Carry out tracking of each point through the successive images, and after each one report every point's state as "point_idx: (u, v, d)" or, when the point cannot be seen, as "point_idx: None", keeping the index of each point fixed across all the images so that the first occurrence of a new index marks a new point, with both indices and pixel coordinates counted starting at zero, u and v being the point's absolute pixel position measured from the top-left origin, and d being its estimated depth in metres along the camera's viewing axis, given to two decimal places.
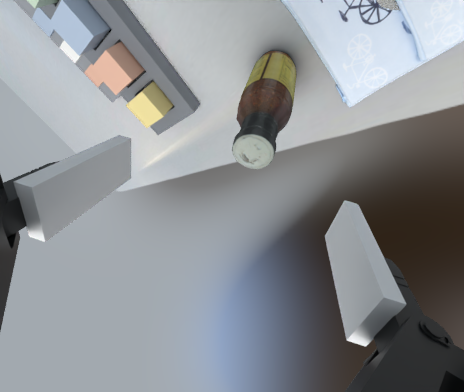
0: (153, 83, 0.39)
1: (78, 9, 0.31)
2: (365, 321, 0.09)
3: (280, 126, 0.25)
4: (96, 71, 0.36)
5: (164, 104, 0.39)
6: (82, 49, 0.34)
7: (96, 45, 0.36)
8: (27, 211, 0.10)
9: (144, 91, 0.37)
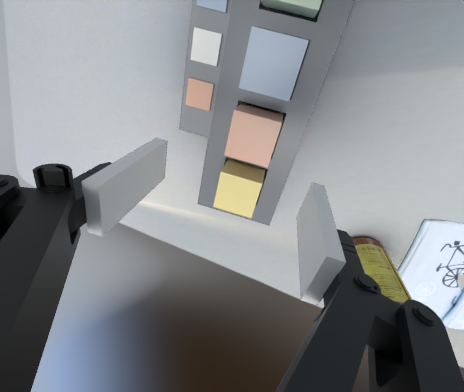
0: None
1: None
2: (314, 280, 0.10)
3: None
4: (236, 118, 0.23)
5: None
6: (254, 90, 0.21)
7: None
8: (90, 208, 0.10)
9: (262, 183, 0.26)
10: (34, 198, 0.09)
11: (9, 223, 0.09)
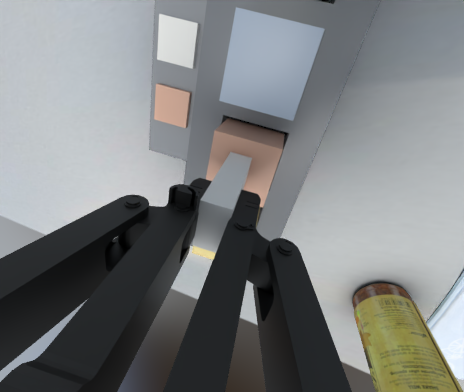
0: (259, 208, 0.22)
1: None
2: (212, 229, 0.11)
3: None
4: (219, 142, 0.16)
5: None
6: (241, 104, 0.15)
7: None
8: (201, 224, 0.11)
9: None
10: (163, 213, 0.09)
11: None
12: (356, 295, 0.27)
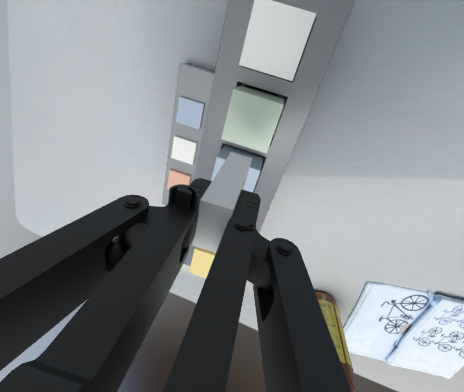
0: None
1: None
2: (212, 229, 0.11)
3: None
4: None
5: None
6: None
7: None
8: (201, 224, 0.11)
9: None
10: (163, 213, 0.09)
11: None
12: None
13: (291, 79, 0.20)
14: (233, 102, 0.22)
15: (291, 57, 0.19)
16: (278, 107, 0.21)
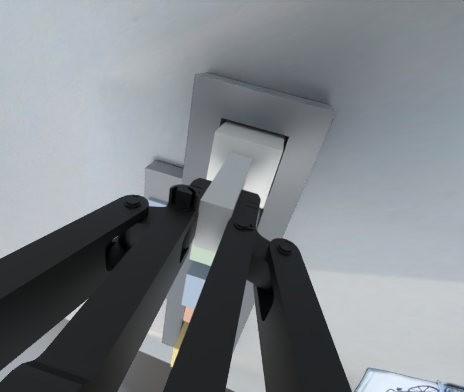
0: None
1: None
2: (212, 229, 0.11)
3: None
4: None
5: None
6: (194, 308, 0.24)
7: None
8: (201, 224, 0.11)
9: None
10: (164, 213, 0.09)
11: None
12: None
13: (262, 206, 0.18)
14: None
15: (260, 187, 0.17)
16: None
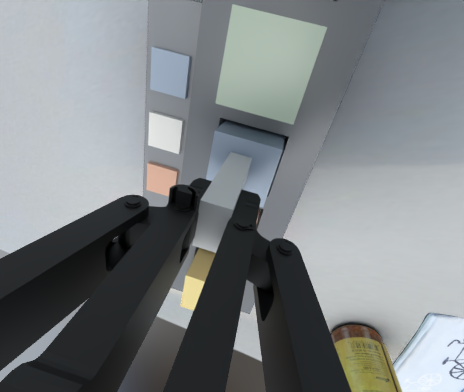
0: None
1: None
2: (212, 229, 0.11)
3: None
4: None
5: None
6: None
7: None
8: (201, 224, 0.11)
9: None
10: (164, 213, 0.09)
11: None
12: (333, 334, 0.30)
13: None
14: (234, 31, 0.12)
15: None
16: (316, 33, 0.11)
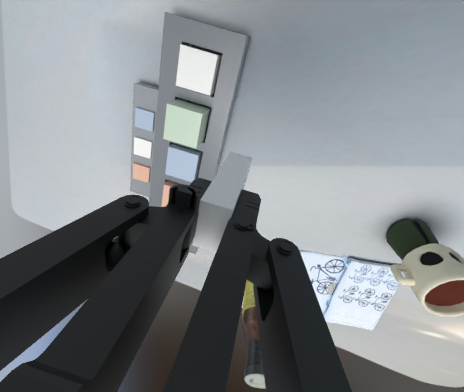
0: None
1: (199, 161, 0.37)
2: (212, 229, 0.11)
3: None
4: (166, 189, 0.39)
5: None
6: (173, 175, 0.38)
7: None
8: (201, 224, 0.11)
9: None
10: (163, 213, 0.09)
11: None
12: None
13: (209, 94, 0.31)
14: (168, 112, 0.30)
15: (207, 80, 0.30)
16: (199, 116, 0.30)
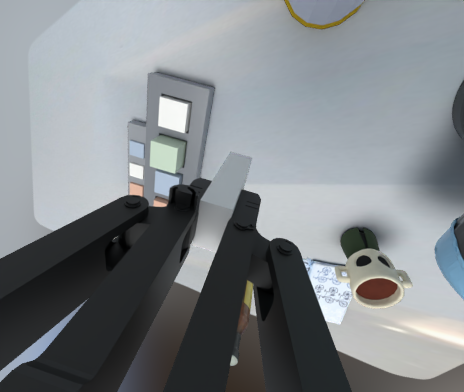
0: None
1: (180, 182, 0.46)
2: (212, 229, 0.11)
3: None
4: (155, 203, 0.48)
5: None
6: (161, 193, 0.46)
7: None
8: (201, 224, 0.11)
9: None
10: (163, 213, 0.09)
11: None
12: None
13: (183, 132, 0.40)
14: (152, 147, 0.39)
15: (181, 122, 0.39)
16: (175, 149, 0.39)
